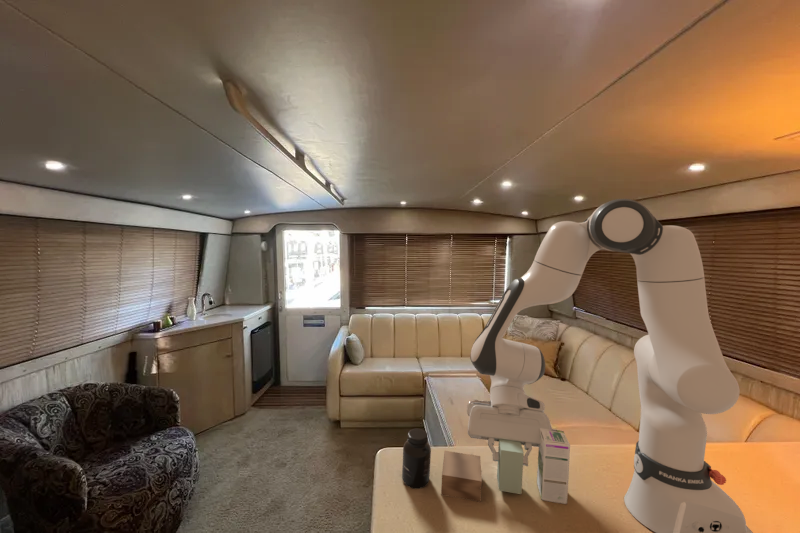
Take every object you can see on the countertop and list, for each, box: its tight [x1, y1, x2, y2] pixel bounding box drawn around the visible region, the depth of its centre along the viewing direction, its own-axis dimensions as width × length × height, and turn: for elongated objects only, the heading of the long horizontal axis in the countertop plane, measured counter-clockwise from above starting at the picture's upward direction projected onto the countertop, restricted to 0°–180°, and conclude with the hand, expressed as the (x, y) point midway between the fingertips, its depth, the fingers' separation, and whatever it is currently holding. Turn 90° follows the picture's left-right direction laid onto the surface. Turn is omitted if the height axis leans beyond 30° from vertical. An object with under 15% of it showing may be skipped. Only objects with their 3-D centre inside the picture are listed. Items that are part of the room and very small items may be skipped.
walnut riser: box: [440, 450, 483, 503], centre depth 81 cm, size 9×9×5 cm
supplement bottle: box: [401, 427, 432, 490], centre depth 82 cm, size 7×7×12 cm
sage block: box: [496, 439, 525, 495], centre depth 79 cm, size 5×5×10 cm
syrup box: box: [536, 428, 571, 505], centre depth 78 cm, size 6×6×14 cm
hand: (510, 463), depth 79 cm, fingers closed on sage block, 5 cm apart
